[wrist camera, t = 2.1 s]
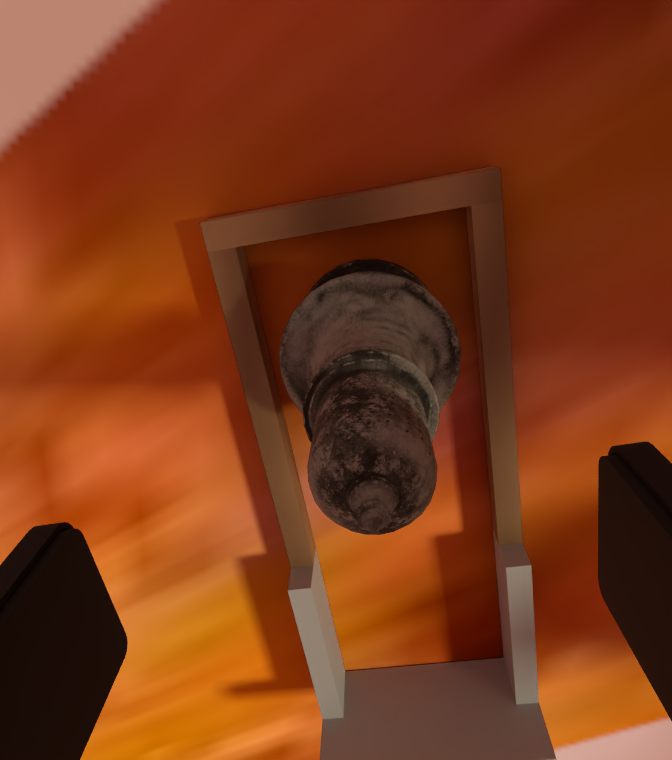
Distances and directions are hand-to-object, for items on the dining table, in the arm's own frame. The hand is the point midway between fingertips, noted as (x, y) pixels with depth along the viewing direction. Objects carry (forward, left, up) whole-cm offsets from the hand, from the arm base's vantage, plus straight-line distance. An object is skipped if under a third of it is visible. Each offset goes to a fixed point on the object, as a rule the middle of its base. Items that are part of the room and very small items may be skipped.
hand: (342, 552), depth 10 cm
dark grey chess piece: (-1, 0, -13) cm, 13 cm away
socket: (-1, +14, -12) cm, 19 cm away
